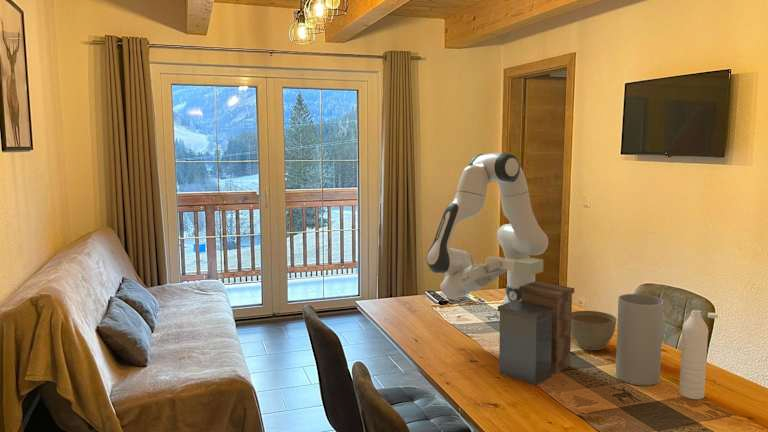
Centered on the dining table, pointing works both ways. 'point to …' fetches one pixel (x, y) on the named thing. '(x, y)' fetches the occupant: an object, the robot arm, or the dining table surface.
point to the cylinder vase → (639, 339)
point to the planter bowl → (592, 329)
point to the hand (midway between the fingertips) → (505, 262)
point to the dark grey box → (525, 341)
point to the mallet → (518, 264)
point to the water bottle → (694, 356)
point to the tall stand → (554, 317)
